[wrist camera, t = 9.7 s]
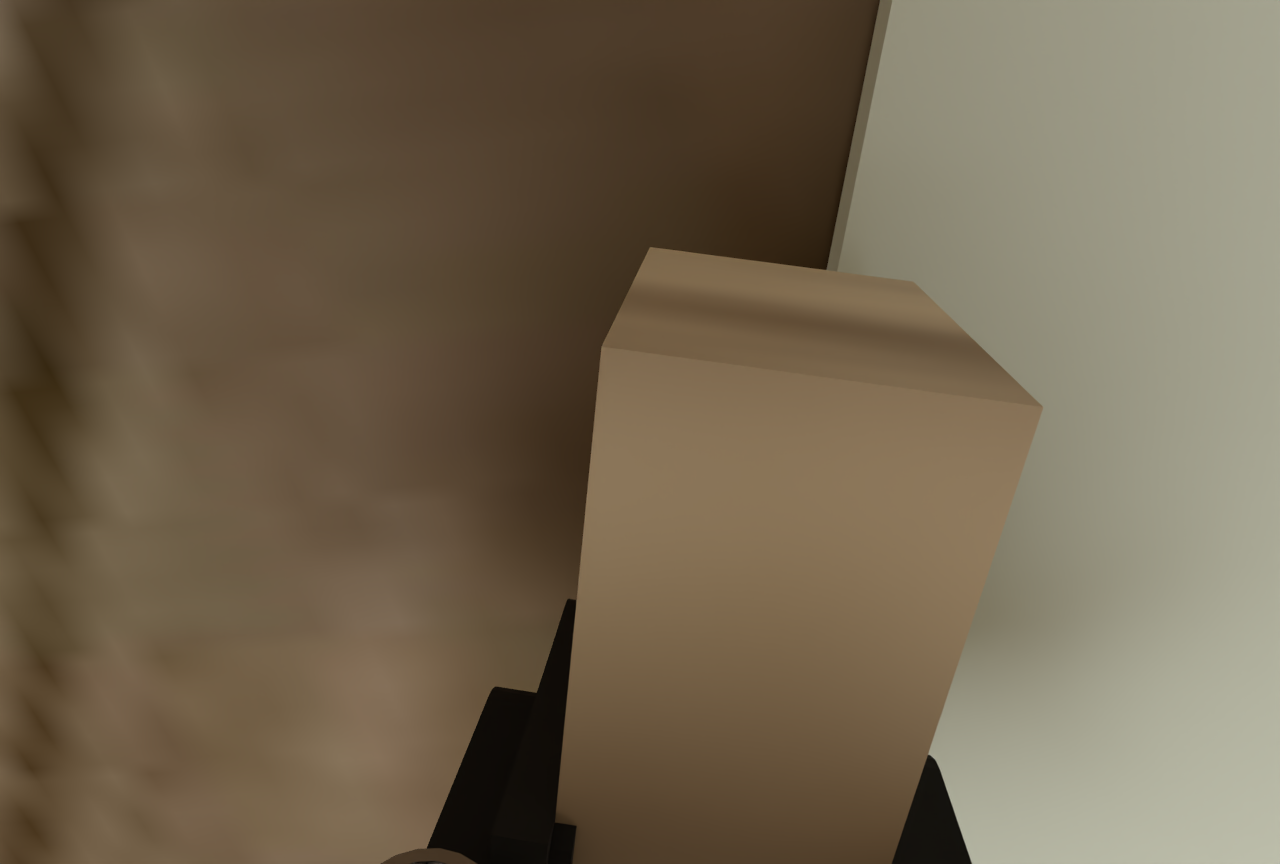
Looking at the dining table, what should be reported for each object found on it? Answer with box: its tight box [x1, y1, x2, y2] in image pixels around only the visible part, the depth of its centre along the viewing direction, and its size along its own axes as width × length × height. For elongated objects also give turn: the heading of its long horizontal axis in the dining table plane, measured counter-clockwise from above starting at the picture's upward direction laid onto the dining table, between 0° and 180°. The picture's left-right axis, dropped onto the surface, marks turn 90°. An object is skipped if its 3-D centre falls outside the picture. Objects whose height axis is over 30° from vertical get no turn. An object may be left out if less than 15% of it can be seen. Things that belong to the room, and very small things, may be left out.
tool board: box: [827, 0, 1280, 864], centre depth 11 cm, size 22×10×1 cm, turn 173°
